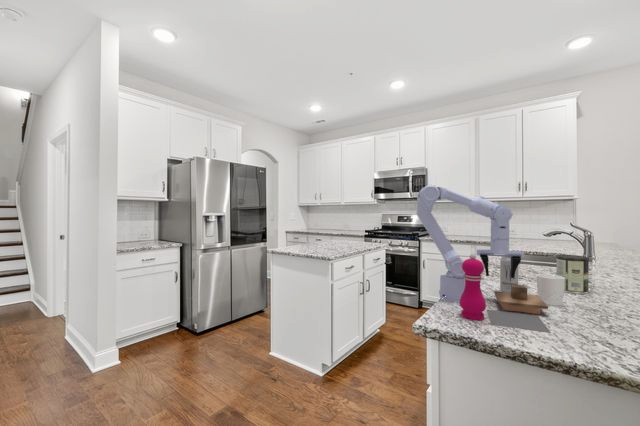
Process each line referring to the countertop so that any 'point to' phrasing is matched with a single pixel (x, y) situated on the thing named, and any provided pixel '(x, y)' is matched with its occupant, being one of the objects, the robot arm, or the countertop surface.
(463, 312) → the pepper mill
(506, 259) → the energy drink can
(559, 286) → the white cup
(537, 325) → the mat
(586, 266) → the coffee can
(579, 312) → the countertop surface
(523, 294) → the lid
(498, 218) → the robot arm
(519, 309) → the dish
